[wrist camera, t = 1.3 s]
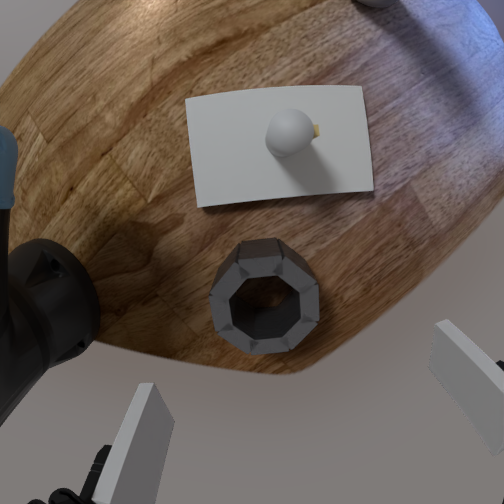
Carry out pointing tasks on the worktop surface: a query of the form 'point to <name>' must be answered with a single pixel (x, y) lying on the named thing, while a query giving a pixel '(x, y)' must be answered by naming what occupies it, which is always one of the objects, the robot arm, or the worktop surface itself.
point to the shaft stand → (278, 143)
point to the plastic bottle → (378, 3)
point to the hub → (268, 318)
